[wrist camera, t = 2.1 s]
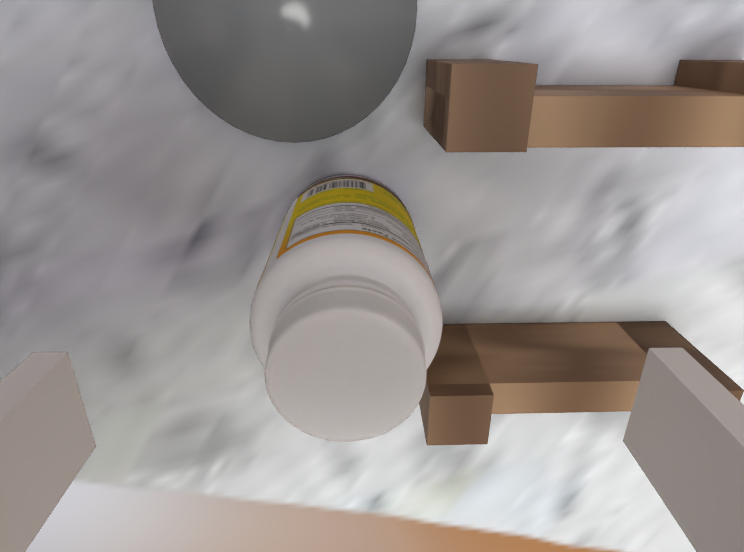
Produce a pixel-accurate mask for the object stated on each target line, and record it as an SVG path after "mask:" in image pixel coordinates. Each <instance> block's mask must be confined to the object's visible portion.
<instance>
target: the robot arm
mask: <svg viewBox="0 0 744 552" xmlns="http://www.w3.org/2000/svg"><path fill="white" fill-rule="evenodd" d="M623 442H624V443H625V445H626V446H627V448H628V449H629V451H630V452H631V454H632V455H633V457H634V458H635V460H636V461H637V463H638V464H639V466H640V467H641V469H642V470H643V472H644V473H645V475H646V476H647V478H648V479H649V481H650V482H651V484H652V485H653V487H654V488H655V490H656V491H657V493H658V494H659V496H660V497H661V499H662V500H663V502H664V503H665V505H666V506H667V508H668V509H669V511H670V512H671V514H672V515H673V517H674V518H675V520H676V521H677V523H678V524H679V526H680V527H681V529H682V530H683V532H684V533H685V535H686V537H687V538H688V540H689V541H690V543H691V544H692V546H693V547H694V549H695V550H696V552H744V405H743V404H742V403H741V402H740V401H739V400H738V399H737V398H736V397H735V396H734V395H732V394H731V393H730V392H729V391H728V390H727V389H726V388H725V387H724V386H723V385H722V384H721V383H720V382H719V381H717V380H716V379H715V378H714V377H713V376H712V375H711V374H710V373H709V372H708V371H707V370H706V369H705V368H704V367H702V366H701V365H700V364H699V363H698V362H697V361H696V360H695V359H694V358H693V357H692V356H691V355H690V354H689V353H688V352H686V351H685V350H684V349H683V348H649V350H648V354H647V357H646V361H645V364H644V368H643V371H642V375H641V379H640V382H639V386H638V389H637V393H636V396H635V400H634V403H633V407H632V411H631V414H630V418H629V421H628V425H627V428H626V432H625V435H624V439H623ZM95 447H96V445H95V441H94V438H93V435H92V431H91V428H90V425H89V421H88V418H87V415H86V412H85V408H84V405H83V402H82V398H81V395H80V392H79V388H78V385H77V382H76V379H75V375H74V372H73V369H72V365H71V362H70V359H69V356H68V352H33V353H31V354H30V355H29V356H28V357H27V358H26V359H25V360H24V361H23V362H22V363H21V364H19V365H18V366H17V367H16V368H15V369H14V370H13V371H12V372H11V373H10V374H9V375H7V376H6V377H5V378H4V379H3V380H2V381H1V382H0V552H25V551H26V550H27V548H28V547H29V545H30V544H31V542H32V541H33V539H34V538H35V536H36V535H37V533H38V532H39V530H40V529H41V527H42V526H43V524H44V523H45V521H46V520H47V518H48V517H49V515H50V514H51V512H52V511H53V509H54V508H55V506H56V505H57V504H58V502H59V500H60V499H61V498H62V496H63V495H64V493H65V492H66V490H67V489H68V487H69V486H70V484H71V483H72V481H73V480H74V478H75V477H76V475H77V474H78V472H79V471H80V469H81V468H82V466H83V465H84V463H85V462H86V460H87V459H88V457H89V456H90V454H91V453H92V451H93V450H94V448H95Z"/></svg>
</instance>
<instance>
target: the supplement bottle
mask: <svg viewBox="0 0 744 552" xmlns="http://www.w3.org/2000/svg"><path fill="white" fill-rule="evenodd" d="M442 326H443V317H442V309H441V304H440V300H439V296H438V293H437V290H436V288H435V285H434V282H433V280H432V277H431V274H430V271H429V268H428V265H427V262H426V260H425V257H424V254H423V251H422V248H421V246H420V242H419V240H418V237H417V234H416V231H415V228H414V226H413V222H412V220H411V217H410V215H409V213H408V211H407V209H406V207H405V206H404V204H403V203H402V202H401V200H400V199H399V198H398V197H397V196H396V195H395V194H394V193H393V192H392V191H391V190H390V189H388V188H387V187H385V186H384V185H382V184H381V183H379V182H377V181H374V180H372V179H369V178H366V177H362V176H356V175H339V176H333V177H329V178H326V179H323V180H320V181H318V182H316V183H314V184H313V185H311V186H309V187H308V188H307V189H305V190H304V191H303V192H302V193H301V194H300V195H299V196H298V197H297V198H296V199H295V200H294V202H293V203H292V205H291V206H290V208H289V210H288V211H287V214H286V216H285V218H284V220H283V223H282V226H281V228H280V231H279V233H278V236H277V238H276V241H275V243H274V246H273V248H272V251H271V254H270V256H269V259H268V261H267V264H266V266H265V269H264V271H263V273H262V276H261V279H260V281H259V283H258V286H257V288H256V291H255V294H254V298H253V301H252V305H251V312H250V333H251V339H252V343H253V347H254V349H255V352H256V354H257V356H258V359H259V360H260V362H261V364H262V365H263V367H264V368H265V383H266V387H267V391H268V394H269V397H270V399H271V401H272V403H273V405H274V406H275V408H276V409H277V411H278V412H279V413H280V414H281V415H282V416H283V417H284V418H285V419H286V420H287V421H288V422H289V423H290V424H292V425H293V426H295V427H296V428H298V429H300V430H301V431H303V432H305V433H307V434H310V435H312V436H315V437H318V438H322V439H326V440H331V441H346V442H347V441H358V440H364V439H370V438H373V437H376V436H379V435H381V434H384V433H386V432H388V431H390V430H392V429H393V428H395V427H396V426H398V425H400V424H401V423H402V422H403V421H404V420H406V419H407V418H408V417H409V416H410V414H411V413H412V412H413V411H414V410H415V408H416V407H417V405H418V404H419V402H420V400H421V398H422V395H423V392H424V389H425V385H426V374H427V368H428V367H429V366H430V364H431V362H432V360H433V359H434V357H435V354H436V352H437V350H438V347H439V343H440V340H441V334H442Z"/></svg>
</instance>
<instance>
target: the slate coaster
mask: <svg viewBox="0 0 744 552" xmlns="http://www.w3.org/2000/svg"><path fill="white" fill-rule="evenodd" d="M153 7H154V12H155V17H156V21H157V26H158V29H159V32H160V35H161V38H162V41H163V44H164V47H165V49H166V51H167V53H168V55H169V57H170V59H171V61H172V63H173V65H174V67H175V68H176V70H177V72H178V73H179V75H180V77H181V78H182V80H183V81H184V82H185V84H186V85H187V86H188V87H189V89H190V90H191V91H192V93H193V94H194V95H195V96H196V97H197V98H198V99H199V100H200V101H201V102H202V103H203V104H204V105H205V106H206V107H207V108H208V109H210V110H211V111H212V112H213V113H215V114H216V115H217V116H218V117H220V118H221V119H223V120H224V121H226V122H227V123H229V124H231V125H232V126H234V127H236V128H238V129H240V130H242V131H244V132H246V133H249V134H252V135H255V136H258V137H261V138H264V139H269V140H274V141H279V142H294V143H295V142H309V141H315V140H319V139H324V138H327V137H330V136H333V135H336V134H339V133H341V132H343V131H345V130H347V129H349V128H351V127H353V126H354V125H356V124H357V123H359V122H360V121H361V120H363V119H364V118H366V117H367V116H368V115H369V114H370V113H371V112H372V111H373V110H375V109H376V108H377V107H378V106H379V105H380V103H381V102H382V101H383V100H384V99H385V97H386V96H387V95H388V94H389V92H390V91H391V89H392V88H393V86H394V85H395V83H396V82H397V80H398V78H399V76H400V74H401V72H402V70H403V68H404V66H405V64H406V61H407V58H408V55H409V52H410V49H411V46H412V41H413V36H414V32H415V25H416V15H417V0H153Z"/></svg>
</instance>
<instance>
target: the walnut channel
mask: <svg viewBox="0 0 744 552" xmlns="http://www.w3.org/2000/svg"><path fill="white" fill-rule="evenodd" d="M537 69H538V64H531V63H521V62H510V61H500V60H427V65H426V87H425V109H424V127H425V128H426V130H427V131H428V132H429V133H430V134H431V135H432V137H433V138H434V139H435V140H436V141H437V142H438V143H439V145H440V146H441V147H442V148H443V149H444V150H445V151H446V152H526V151H527V148H537V147H744V60H680V63H679V67H678V71H677V75H676V80H675V84H674V86H535V84H536V76H537ZM649 348H683V349H684V350H685V351H686V352H688V353H689V354H690V355H691V356H692V357H693V358H694V359H695V360H696V361H697V362H698V363H699V364H700V365H701V366H702V367H704V368H705V369H706V370H707V371H708V372H709V373H710V374H711V375H712V376H713V377H714V378H715V379H716V380H717V381H719V382H720V383H721V384H722V385H723V386H724V387H725V388H726V389H727V390H728V391H729V392H730V393H731V394H732V395H734V396H735V397H736V398H737V399H738V400H739V401H740V399H741V397H742V394H743V392H744V390H743V389H742V388H741V387H740V386H738V385H737V384H736V383H735V382H734V381H733V380H732V379H730V378H729V377H728V376H727V375H726V374H725V373H724V372H723V371H721V370H720V369H719V368H718V367H717V366H716V365H715V364H713V363H712V362H711V361H710V360H709V359H708V358H707V357H706V356H704V355H703V354H702V353H701V352H700V351H699V350H698V349H696V348H695V347H694V346H693V345H692V344H691V343H690V342H688V341H687V340H686V339H685V338H684V337H683V336H682V335H681V334H679V333H678V332H677V331H676V330H675V329H674V328H673V327H671V326H670V325H669V324H668V323H667V322H666V321H660V322H590V323H521V324H451V325H443V326H442V334H441V340H440V343H439V347H438V350H437V352H436V354H435V357H434V359H433V360H432V362H431V364H430V366H429V367H428V368H427V374H426V385H425V389H424V392H423V395H422V398H421V400H420V402H419V404H420V410H421V415H422V421H423V426H424V432H425V437H426V443H427V445H465V444H487V443H488V436H489V428H490V421H491V414H515V413H565V412H615V411H632V407H633V403H634V400H635V396H636V393H637V389H638V386H639V382H640V379H641V375H642V371H643V368H644V364H645V361H646V357H647V354H648V350H649Z"/></svg>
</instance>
